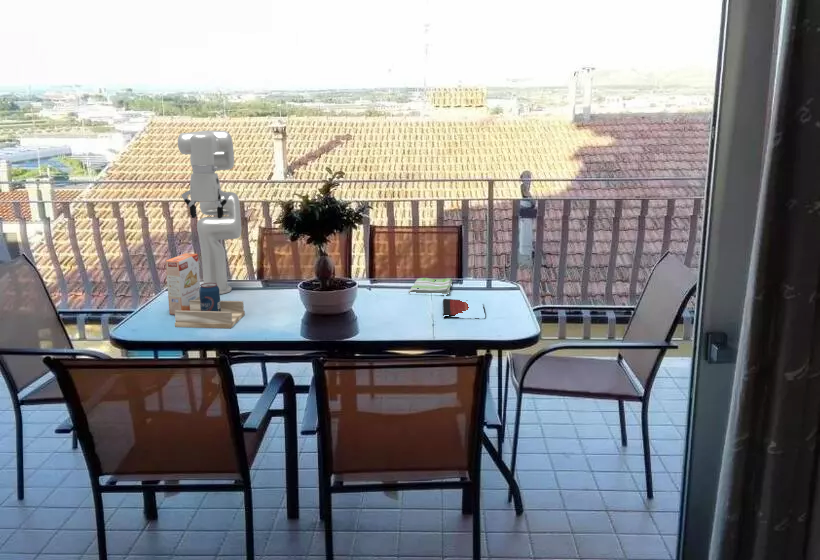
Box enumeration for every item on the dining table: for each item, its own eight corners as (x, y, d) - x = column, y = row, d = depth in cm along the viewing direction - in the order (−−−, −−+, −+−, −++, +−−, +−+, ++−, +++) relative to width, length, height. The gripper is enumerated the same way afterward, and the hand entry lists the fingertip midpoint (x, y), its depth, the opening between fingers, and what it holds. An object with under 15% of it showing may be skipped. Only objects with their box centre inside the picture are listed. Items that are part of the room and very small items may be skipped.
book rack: (192, 313, 244) (191, 299, 243) (244, 314, 243) (243, 300, 242) (175, 327, 229) (173, 312, 227) (230, 328, 228) (229, 313, 226)
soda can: (197, 318, 233) (195, 286, 230) (206, 313, 240) (204, 281, 237) (215, 320, 232) (213, 287, 229) (224, 314, 239) (222, 282, 236)
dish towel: (407, 295, 271) (407, 287, 270) (415, 281, 293) (415, 274, 292) (448, 297, 269) (448, 289, 268) (453, 283, 291) (453, 275, 290)
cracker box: (183, 316, 241) (179, 261, 236) (169, 315, 242) (164, 260, 237) (202, 305, 254) (198, 253, 249) (188, 304, 256) (184, 252, 250)
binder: (443, 313, 239) (442, 298, 260) (442, 319, 240) (442, 303, 260) (486, 316, 239) (483, 300, 259) (486, 322, 239) (482, 306, 260)
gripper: (230, 169, 235) (233, 216, 239) (184, 168, 236) (187, 215, 240) (223, 171, 227) (227, 219, 232) (175, 170, 228) (179, 218, 233)
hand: (207, 217), depth 236 cm, fingers open, 9 cm apart
